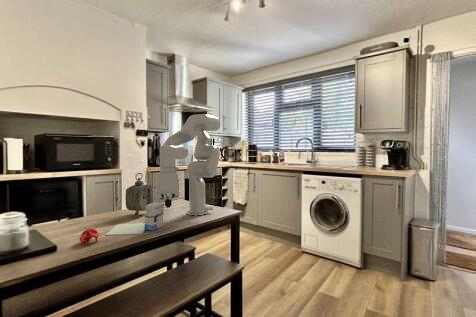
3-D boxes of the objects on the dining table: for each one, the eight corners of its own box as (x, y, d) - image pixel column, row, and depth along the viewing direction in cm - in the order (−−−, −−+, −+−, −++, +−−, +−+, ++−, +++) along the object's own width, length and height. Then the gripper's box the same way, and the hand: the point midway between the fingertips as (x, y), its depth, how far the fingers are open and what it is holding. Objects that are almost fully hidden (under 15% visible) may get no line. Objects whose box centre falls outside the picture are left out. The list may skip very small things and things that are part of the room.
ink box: (152, 231, 121) (153, 206, 120) (143, 229, 123) (145, 205, 122) (163, 226, 129) (164, 203, 128) (154, 224, 131) (156, 201, 130)
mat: (149, 223, 133) (149, 223, 133) (142, 233, 117) (142, 233, 117) (117, 225, 131) (117, 224, 131) (105, 235, 115) (105, 234, 115)
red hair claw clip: (102, 235, 106) (100, 225, 110) (87, 234, 102) (85, 223, 106) (93, 249, 108) (91, 238, 112) (77, 248, 103) (76, 237, 107)
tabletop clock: (139, 218, 143) (138, 174, 142) (124, 218, 144) (123, 174, 143) (152, 212, 157) (151, 171, 156) (138, 211, 159) (138, 171, 158)
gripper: (183, 169, 131) (184, 205, 131) (153, 169, 128) (153, 206, 129) (182, 170, 123) (183, 208, 124) (150, 171, 121) (151, 209, 122)
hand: (168, 207), depth 126 cm, fingers closed
